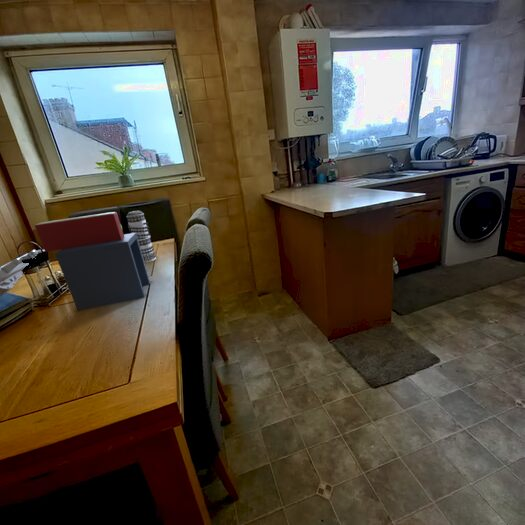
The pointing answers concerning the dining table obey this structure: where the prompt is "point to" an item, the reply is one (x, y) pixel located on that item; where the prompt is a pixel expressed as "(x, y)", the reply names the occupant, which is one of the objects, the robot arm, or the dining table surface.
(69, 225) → the book
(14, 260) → the robot arm
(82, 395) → the dining table surface
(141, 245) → the leaning tower model
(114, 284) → the shelf
